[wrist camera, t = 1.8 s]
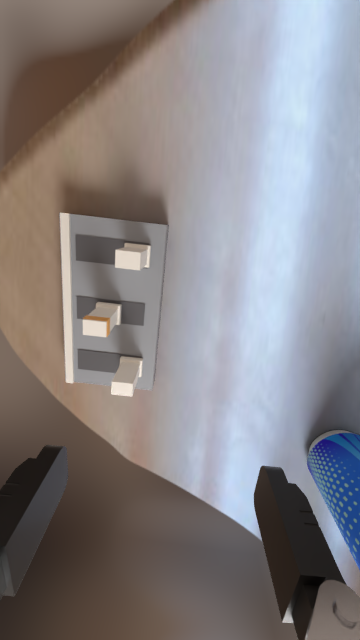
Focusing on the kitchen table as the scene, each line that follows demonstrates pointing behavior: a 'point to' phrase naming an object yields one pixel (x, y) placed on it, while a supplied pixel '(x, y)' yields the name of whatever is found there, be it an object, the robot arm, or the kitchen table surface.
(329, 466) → the beer can
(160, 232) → the breaker panel
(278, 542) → the robot arm
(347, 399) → the kitchen table surface
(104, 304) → the breaker toggle
